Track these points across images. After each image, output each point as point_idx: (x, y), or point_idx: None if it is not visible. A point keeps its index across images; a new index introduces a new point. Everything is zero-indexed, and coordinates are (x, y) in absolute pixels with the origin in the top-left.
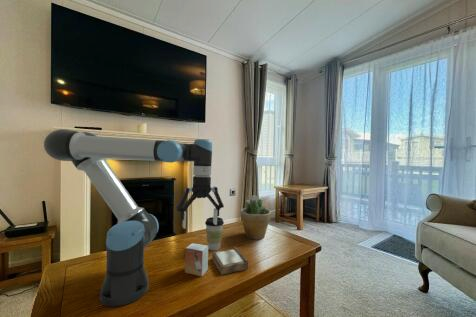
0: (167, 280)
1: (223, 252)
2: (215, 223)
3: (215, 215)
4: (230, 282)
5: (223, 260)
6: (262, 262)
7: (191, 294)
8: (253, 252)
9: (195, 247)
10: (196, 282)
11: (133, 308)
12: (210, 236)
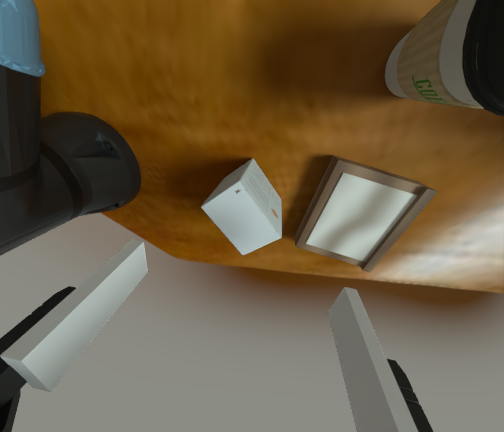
0: (180, 180)
1: (365, 189)
2: (331, 320)
3: (347, 385)
4: (290, 263)
5: (323, 227)
6: (419, 259)
7: (212, 246)
8: (475, 207)
9: (232, 225)
10: None
11: (122, 218)
12: (416, 76)
